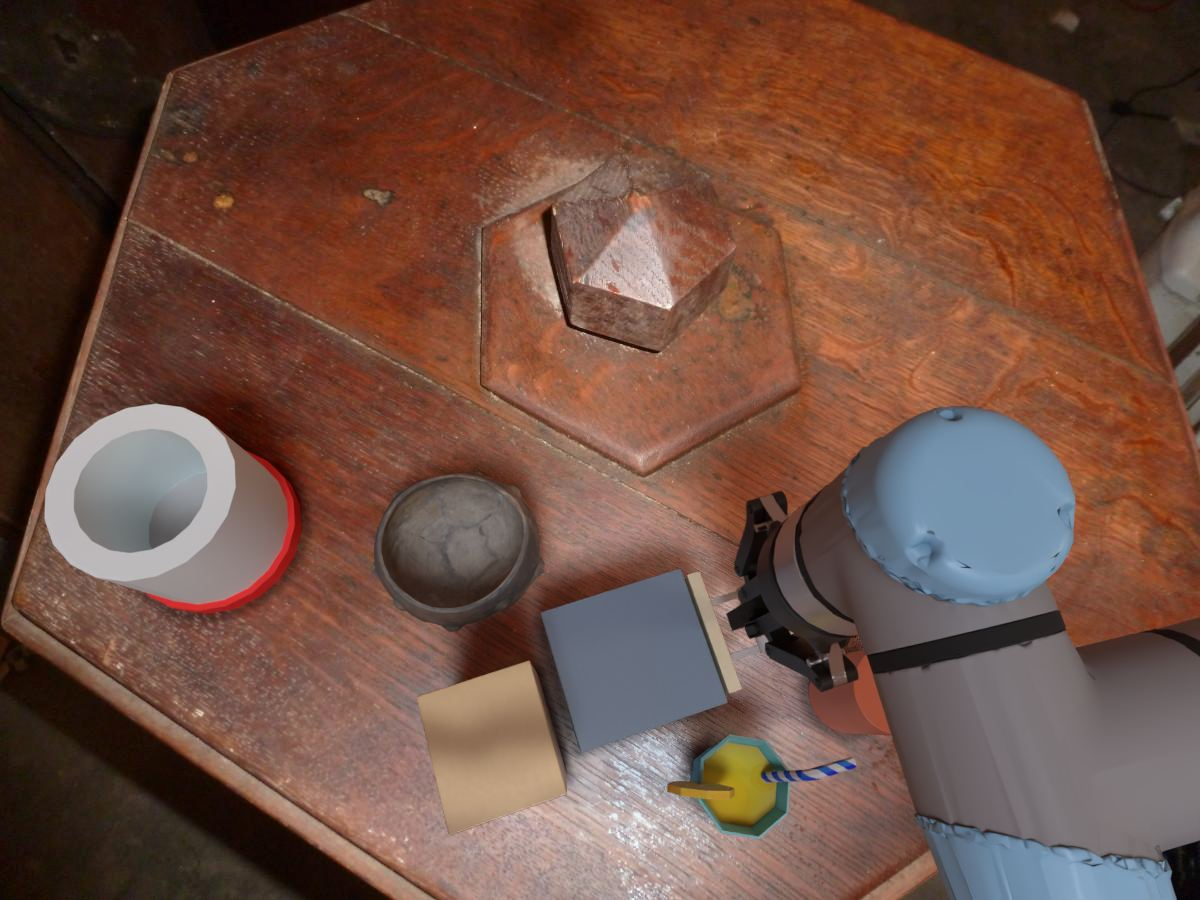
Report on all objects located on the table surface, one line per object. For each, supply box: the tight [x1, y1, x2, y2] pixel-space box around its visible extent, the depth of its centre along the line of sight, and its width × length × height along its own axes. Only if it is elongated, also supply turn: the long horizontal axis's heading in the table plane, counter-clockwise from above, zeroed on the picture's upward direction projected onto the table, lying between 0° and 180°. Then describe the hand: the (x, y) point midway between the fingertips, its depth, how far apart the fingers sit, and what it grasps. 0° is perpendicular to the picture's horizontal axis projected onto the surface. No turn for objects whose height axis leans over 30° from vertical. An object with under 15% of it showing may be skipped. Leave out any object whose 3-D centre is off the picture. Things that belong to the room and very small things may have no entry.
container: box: [43, 403, 303, 615], centre depth 69 cm, size 16×16×15 cm
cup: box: [666, 734, 857, 840], centre depth 63 cm, size 14×8×15 cm, turn 104°
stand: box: [416, 660, 568, 836], centre depth 61 cm, size 9×8×20 cm
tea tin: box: [808, 649, 892, 736], centre depth 67 cm, size 7×7×12 cm
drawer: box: [684, 570, 768, 695], centre depth 69 cm, size 16×10×8 cm, turn 108°
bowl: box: [371, 471, 546, 633], centre depth 71 cm, size 14×15×10 cm
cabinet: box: [540, 567, 729, 754], centre depth 69 cm, size 13×12×10 cm
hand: (744, 617), depth 64 cm, fingers closed
